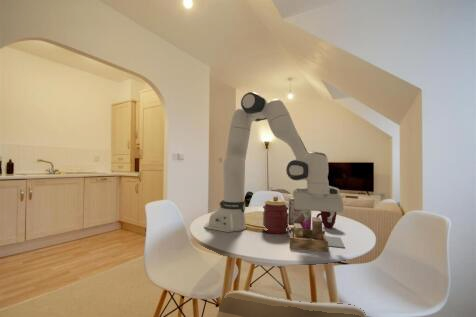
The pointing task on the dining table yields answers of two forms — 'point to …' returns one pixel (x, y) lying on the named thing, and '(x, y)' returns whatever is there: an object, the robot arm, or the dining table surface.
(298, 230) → the offcut top
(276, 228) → the canister
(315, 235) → the tall brown cardboard box
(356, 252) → the dining table surface
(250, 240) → the dining table surface
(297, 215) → the candy bar box
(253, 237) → the dining table surface
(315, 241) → the rack
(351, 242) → the dining table surface
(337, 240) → the felt pad
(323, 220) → the mug
